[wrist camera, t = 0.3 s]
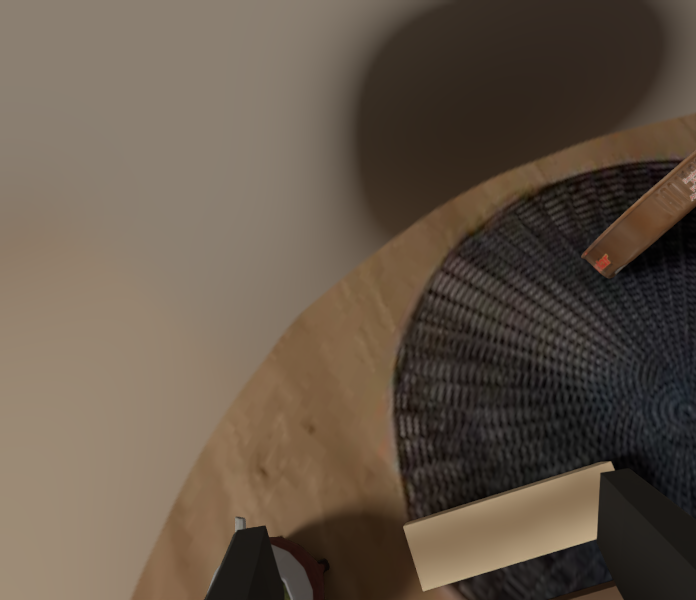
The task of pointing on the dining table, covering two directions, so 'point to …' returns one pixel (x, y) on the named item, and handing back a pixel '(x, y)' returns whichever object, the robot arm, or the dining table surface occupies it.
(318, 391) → the dining table surface
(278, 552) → the mate gourd
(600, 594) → the endcap rail
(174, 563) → the dining table surface
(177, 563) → the dining table surface
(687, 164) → the tin
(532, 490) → the slat
